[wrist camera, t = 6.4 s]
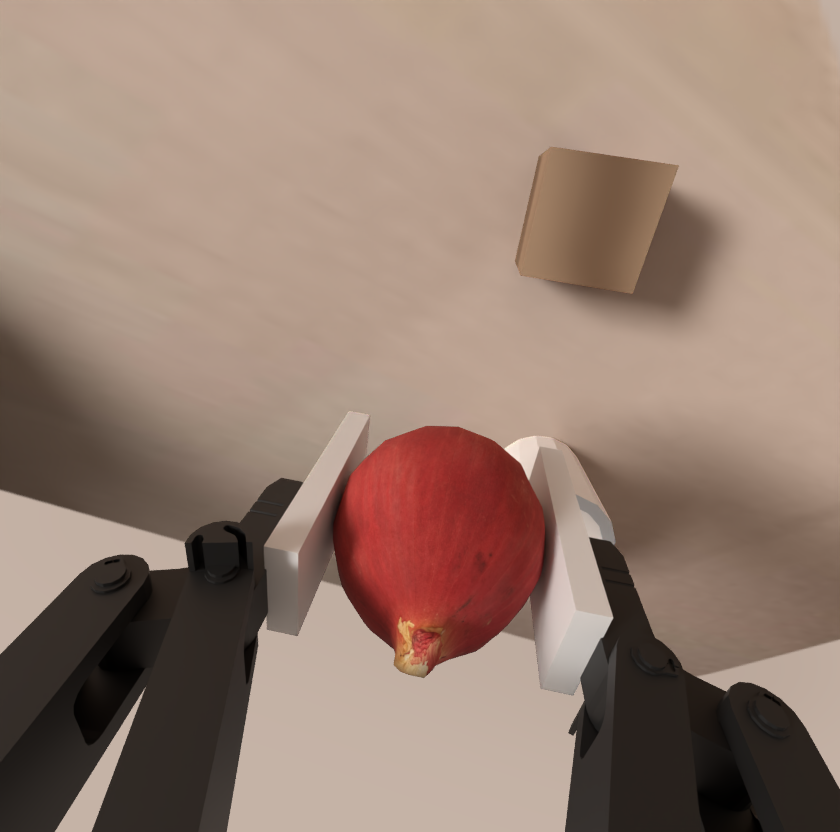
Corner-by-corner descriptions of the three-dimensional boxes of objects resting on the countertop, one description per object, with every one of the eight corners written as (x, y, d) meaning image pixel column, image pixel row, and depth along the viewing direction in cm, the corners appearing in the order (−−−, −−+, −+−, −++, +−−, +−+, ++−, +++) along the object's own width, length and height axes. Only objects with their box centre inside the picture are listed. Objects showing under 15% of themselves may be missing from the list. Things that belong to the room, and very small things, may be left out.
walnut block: (515, 260, 24) (520, 275, 20) (538, 156, 22) (551, 146, 17) (605, 276, 24) (632, 294, 19) (639, 171, 21) (678, 165, 17)
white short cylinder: (538, 527, 32) (549, 606, 26) (465, 474, 31) (459, 544, 24) (611, 468, 29) (645, 543, 23) (534, 407, 28) (547, 468, 21)
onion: (554, 499, 16) (611, 747, 9) (413, 539, 17) (364, 773, 10) (494, 358, 14) (504, 533, 7) (341, 419, 15) (218, 610, 8)
